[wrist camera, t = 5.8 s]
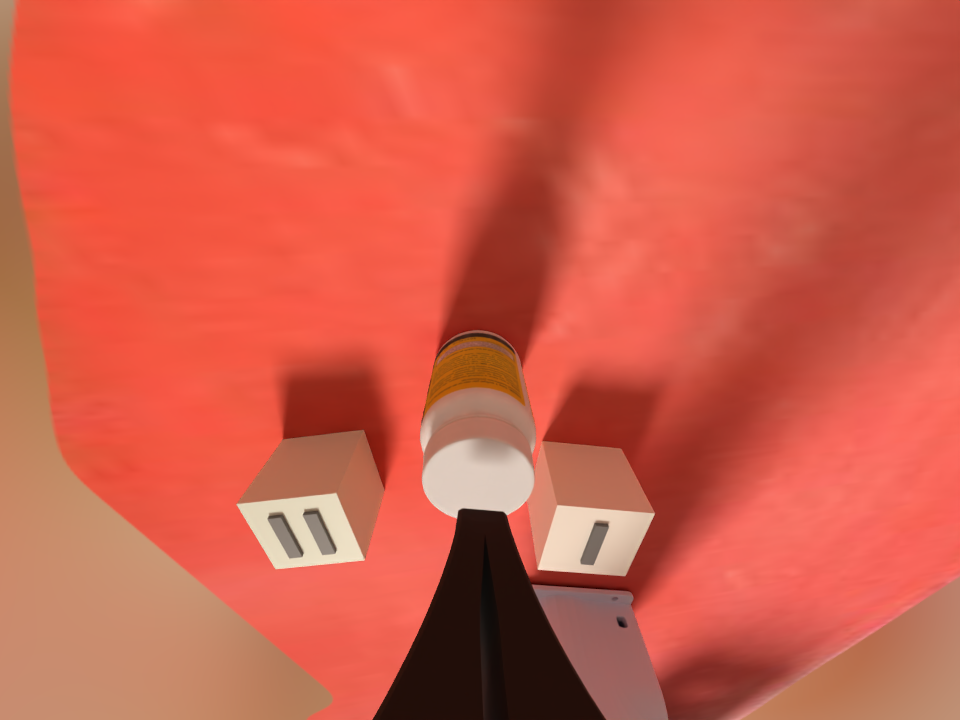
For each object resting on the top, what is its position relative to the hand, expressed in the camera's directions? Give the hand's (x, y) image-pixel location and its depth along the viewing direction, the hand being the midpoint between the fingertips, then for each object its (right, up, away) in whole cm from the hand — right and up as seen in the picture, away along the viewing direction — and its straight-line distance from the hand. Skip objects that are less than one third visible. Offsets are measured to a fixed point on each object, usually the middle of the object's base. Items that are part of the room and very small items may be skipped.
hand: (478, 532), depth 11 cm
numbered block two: (-9, -2, +12) cm, 15 cm away
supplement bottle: (0, +5, +9) cm, 11 cm away
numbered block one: (+6, -2, +13) cm, 14 cm away
